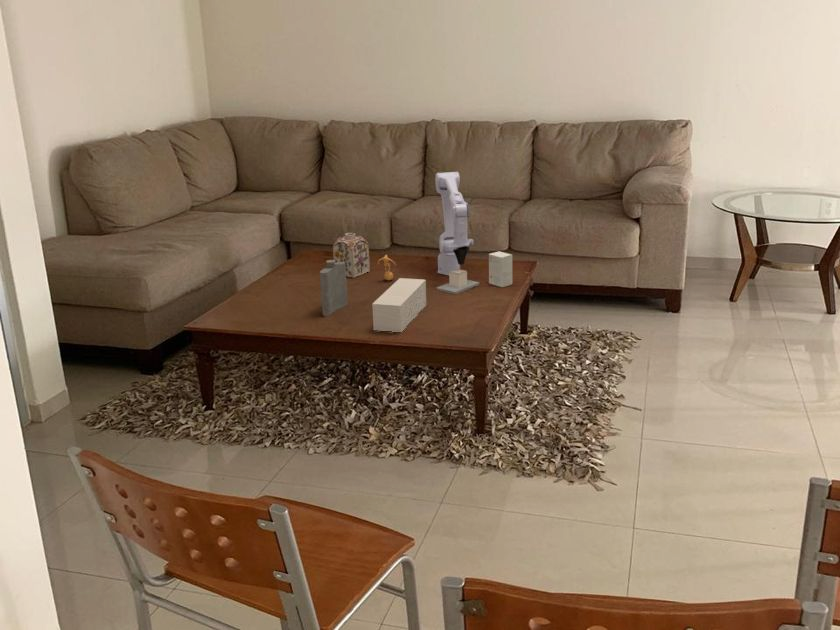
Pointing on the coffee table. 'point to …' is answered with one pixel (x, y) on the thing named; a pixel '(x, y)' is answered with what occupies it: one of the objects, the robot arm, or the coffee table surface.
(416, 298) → the long white block
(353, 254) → the decorative jar
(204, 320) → the coffee table surface
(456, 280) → the beige cardboard cube
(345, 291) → the hip flask
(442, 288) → the base board
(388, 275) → the figurine
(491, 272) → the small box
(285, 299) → the coffee table surface
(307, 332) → the coffee table surface
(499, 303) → the coffee table surface
